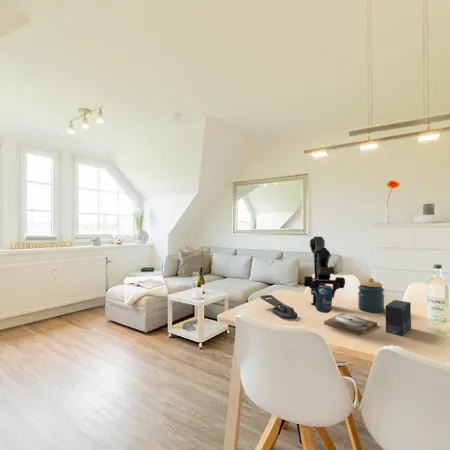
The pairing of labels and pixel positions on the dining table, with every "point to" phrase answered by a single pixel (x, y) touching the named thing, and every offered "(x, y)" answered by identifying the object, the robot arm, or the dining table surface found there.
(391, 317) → the small box
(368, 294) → the canister
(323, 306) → the soda can
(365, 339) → the dining table surface
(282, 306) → the zipper pull
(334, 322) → the rosette board
